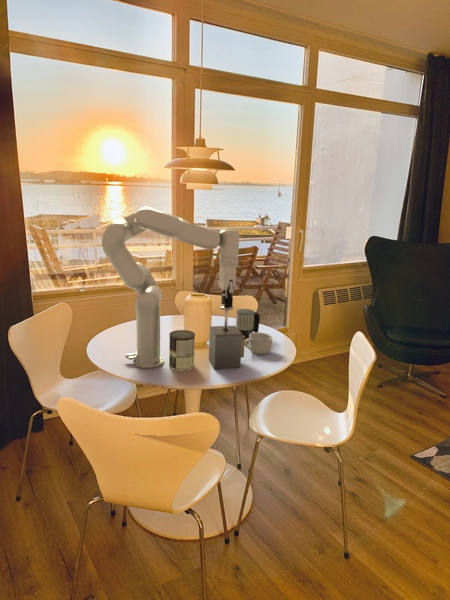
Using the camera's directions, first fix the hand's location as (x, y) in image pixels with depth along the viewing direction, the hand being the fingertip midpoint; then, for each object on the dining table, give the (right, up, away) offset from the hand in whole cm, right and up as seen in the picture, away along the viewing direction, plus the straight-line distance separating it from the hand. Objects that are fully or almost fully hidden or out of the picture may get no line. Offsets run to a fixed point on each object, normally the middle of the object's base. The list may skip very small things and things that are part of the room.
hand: (226, 305), depth 176 cm
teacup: (+14, -22, +21) cm, 33 cm away
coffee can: (-18, -25, +2) cm, 31 cm away
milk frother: (+7, -17, +41) cm, 45 cm away
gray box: (0, -25, +6) cm, 26 cm away
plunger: (-1, -13, +3) cm, 14 cm away
